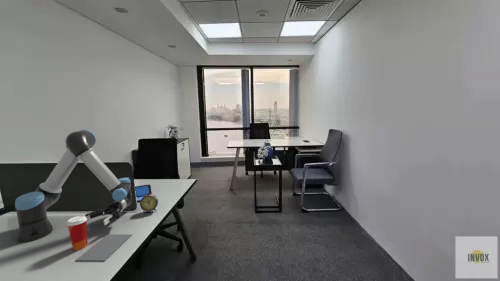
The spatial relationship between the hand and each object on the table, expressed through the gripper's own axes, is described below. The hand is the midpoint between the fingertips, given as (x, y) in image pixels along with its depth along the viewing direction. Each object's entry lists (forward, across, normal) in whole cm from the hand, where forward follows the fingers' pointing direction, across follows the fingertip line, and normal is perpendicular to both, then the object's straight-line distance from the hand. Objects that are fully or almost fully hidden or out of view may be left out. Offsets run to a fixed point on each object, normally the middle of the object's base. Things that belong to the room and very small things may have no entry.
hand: (92, 223), depth 124 cm
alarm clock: (-32, -16, -8) cm, 36 cm away
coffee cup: (+9, 0, -8) cm, 12 cm away
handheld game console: (-54, +2, -8) cm, 55 cm away
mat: (+10, -14, -8) cm, 19 cm away
